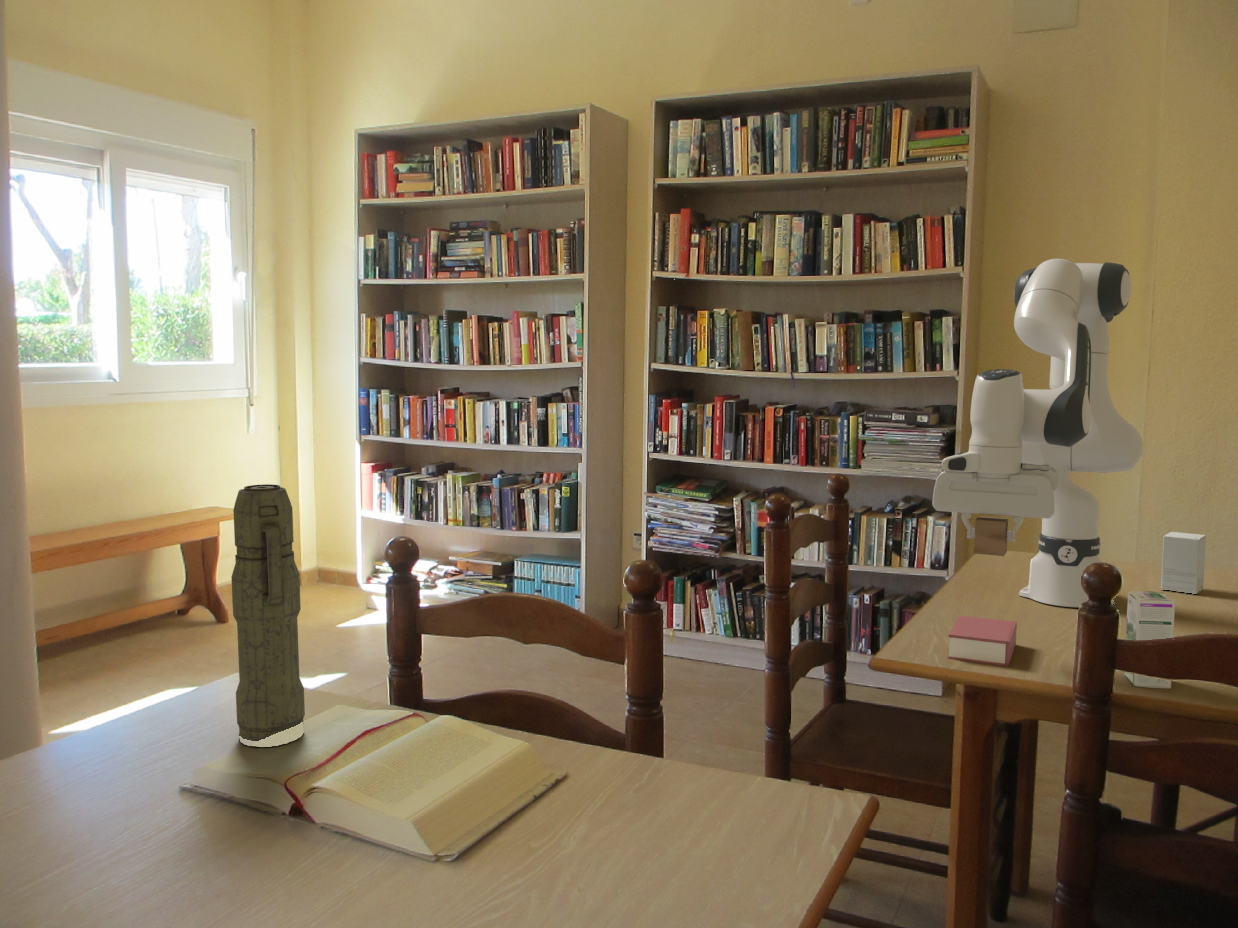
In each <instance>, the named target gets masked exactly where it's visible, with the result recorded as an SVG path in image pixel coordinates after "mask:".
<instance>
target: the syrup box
mask: <svg viewBox="0 0 1238 928" xmlns="http://www.w3.org/2000/svg"><path fill="white" fill-rule="evenodd" d="M1126 606H1127V607H1126V630H1125V641H1126V640H1152V639H1166V638H1174V636H1175V635H1174V633H1175V631H1174V630H1175V611H1176V601H1175V600H1174V599H1173V598H1171V597H1169V596H1168V595H1167V594H1166V593H1164V592H1160V591H1147V590H1146V591H1145V590H1136V591H1128V592H1127V605H1126ZM1123 675H1124V677H1125V678H1126V679H1127V680H1128V681H1129V682H1130V683H1131V684H1132V685H1133V686H1134V687H1139V688H1148V689H1149V688H1151V689H1169V690H1170V689H1171V688H1172V680H1171V681H1165V680H1161V679H1156V678H1148V677H1145V676H1138V675H1134V674H1127V673H1124V672H1123Z"/></svg>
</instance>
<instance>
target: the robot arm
mask: <svg viewBox="0 0 1238 928" xmlns="http://www.w3.org/2000/svg"><path fill="white" fill-rule="evenodd" d="M1132 291H1133V285H1132V279H1131V277H1130V271H1129V270H1128V269H1127V267H1125V265H1123V264H1121V263H1115V262H1106V261H1105V262H1104V263H1097V262H1096V263H1095V262H1072V261H1071V260H1068V259H1066V258H1050V259H1047V260H1045V261H1043V262H1041V263H1039V264H1038V266H1036V267H1033V268H1030V269H1029V268H1028V269H1027V270H1024V271H1023V272H1022V273H1021V274H1020V275H1019V276H1018V277H1017V278H1016V281H1015V285H1014V290H1013V299H1014V305H1015V308H1016V310H1015V313H1014V316H1013V327H1014V331H1015V334H1016V335H1017V337H1018V338H1019V340H1020V341H1021V342H1022V343H1023V344H1024V345H1025V346H1026V347H1028V348H1029V349H1031V350H1033V351H1034V352H1037V353H1040V354H1042V355H1043V354H1044V355H1046V356H1050V367H1049V388H1050V389H1046V388H1045V389H1043V388H1041V389H1039V388H1034V389H1033V388H1024V381H1023V375H1022V372H1020V371H1018V370H1014V369H1009V368H1007V369H1006V368H998V369H988V370H985V371H982V372H980V373H978V374H977V375H976V377H975V380H974V381H975V382H974V384H973V390H972V395H971V403H970V413H969V414H970V416H969V417H970V419H969V421H970V425H971V436H970V438H969V442H968V451H966V452H959V453H957V454H954V455H951V456H946V457H945V458H943V459H942V460H941V470H943V471H941V473H940V474H938V475H937V477H936V479H935V483H934V487H933V494H932V502H931V503H932V507H933V508H934V510H935V511H937V512H948V513H961V521H962V523H963V524H964V526H965V528H966V529H967V530H966V533H967V535H966V538H967V539H971V540H972V539H973V540H974V539H975V527H973V525H972V524H971V522H970V518H972V514H978V515H992V516H1005V517H1013V523H1015V525H1014V526H1013V528H1012V529H1011V530H1009V529H1008V530H1007V531H1006V536H1007V537H1006V541H1007V543H1008V542H1009V543H1010V542H1011V543H1015V541H1016V534H1017V533H1016V532H1017V531H1018V530H1019V528H1020V527H1021V525H1022V524H1023V523H1024V522H1023V521H1024V518H1033V519H1041V532H1040V533H1039V536H1038V541H1037V543H1038V550H1039V551H1038V553H1037V554H1036V555H1034V556H1032V557H1033V558H1031V559H1030V563H1029V577H1028V584H1027V586H1025V587H1023V588H1021V589H1020V590H1019V592H1018V595H1019V596H1021V597H1024V598H1029V599H1031V600H1034V601H1036V602H1040V603H1043V604H1047V605H1052V606H1058V607H1065V608H1066V607H1067V608H1080V607H1079V605H1081V603H1083V602H1084V601H1087V596H1086V594H1085V593H1084V591H1083V590H1082V588H1081V584H1080V579H1081V574H1082V573H1083V571H1084V569H1085V568H1086V566H1088V565H1090V564H1091V563H1093V562H1102V563H1104V562H1103V561H1102V560H1101V559H1100V557H1099V555H1100V552H1101V551H1100V550H1101V538H1100V536H1099V526H1100V525H1099V523H1100V522H1099V521H1100V509H1101V508H1100V502H1099V501H1098V499H1097V497H1096V496H1095V495H1094V494H1092V493H1091V492H1090V491H1088V490H1086V489H1084V488H1083V487H1081V486H1080V485H1079V486H1078V485H1077V484H1075V483H1074V482H1073V481H1072V479H1071V477H1070V473H1071V472H1080V473H1081V472H1082V473H1100V474H1110V473H1111V474H1112V473H1119V472H1126V471H1131V470H1132V469H1133V468H1134V467H1135V466H1136V465H1138V463H1139V461H1140V459H1141V458H1142V455H1143V452H1144V443H1143V438H1142V435H1141V434H1140V431H1139V430H1138V429H1137V428H1136V427H1135V426H1134V425H1133V424H1132V423H1130V422H1129V421H1127V420H1126V419H1125V418H1124V417H1123V416H1122V415H1121V414H1120V413H1119V412H1118V410H1117V408H1116V406H1115V405H1114V402H1113V401H1112V397H1111V395H1110V394H1111V393H1110V390H1109V351H1110V350H1109V349H1110V348H1109V346H1110V342H1109V341H1110V340H1109V337H1110V334H1109V324H1108V323H1111V322H1112V321H1113V319H1114V317H1116V316H1118V315H1120V314H1121V313H1122V312H1123V311H1124V310H1125V309H1126V308H1127V307H1128V304H1129V301H1130V298H1131V295H1132ZM1114 600H1115V599H1114ZM1114 600H1113V601H1112V603H1113V604H1114V605H1113V606H1115V605H1116V603H1114Z"/></svg>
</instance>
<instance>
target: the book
mask: <svg viewBox="0 0 1238 928" xmlns="http://www.w3.org/2000/svg"><path fill="white" fill-rule="evenodd" d="M1017 625H1018V622H1017V621H1013V620H1012V621H1011V620H1004V619H995V618H994V619H993V618H986V617H985V618H984V617H976V616H966V615H959V616H958V617H957V619H956V621H955V622H954V625H953V626H952V628H951V629H950V631H949V633H948V636H947V637H948V638H949V647H948V649H949V650H948V655H947V659H950V660H958V661H967V662H971V663H979V664H981V663H982V664H986V665H987V664H989V665H997V666H1003V667H1010V664H1011V660H1012V657H1013V655H1014V651H1015V649H1016V645H1017V627H1018V626H1017Z"/></svg>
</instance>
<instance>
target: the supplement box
mask: <svg viewBox="0 0 1238 928" xmlns="http://www.w3.org/2000/svg"><path fill="white" fill-rule="evenodd" d="M1206 539H1207V535H1206V534H1198V533H1190V532H1187V533H1186V532H1178V531H1170V532H1168V533H1167V534H1164V535H1163V536H1162V554H1161V555H1162V556H1161V557H1162V558H1161V559H1162V560H1161V578H1160V589H1161V588H1163V589H1167V590H1174V591H1181V592H1185V593H1184V594H1186V593H1192V594H1191V595H1193V594H1197V593H1198V592H1199V591H1200V592H1202V591H1203V590H1204V580H1205V579H1204V576H1205V561H1206V560H1205V559H1206ZM1202 589H1203V590H1202ZM1201 590H1202V591H1201ZM1200 592H1199V593H1200ZM1199 593H1198V594H1199ZM1198 594H1197V595H1198Z"/></svg>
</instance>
